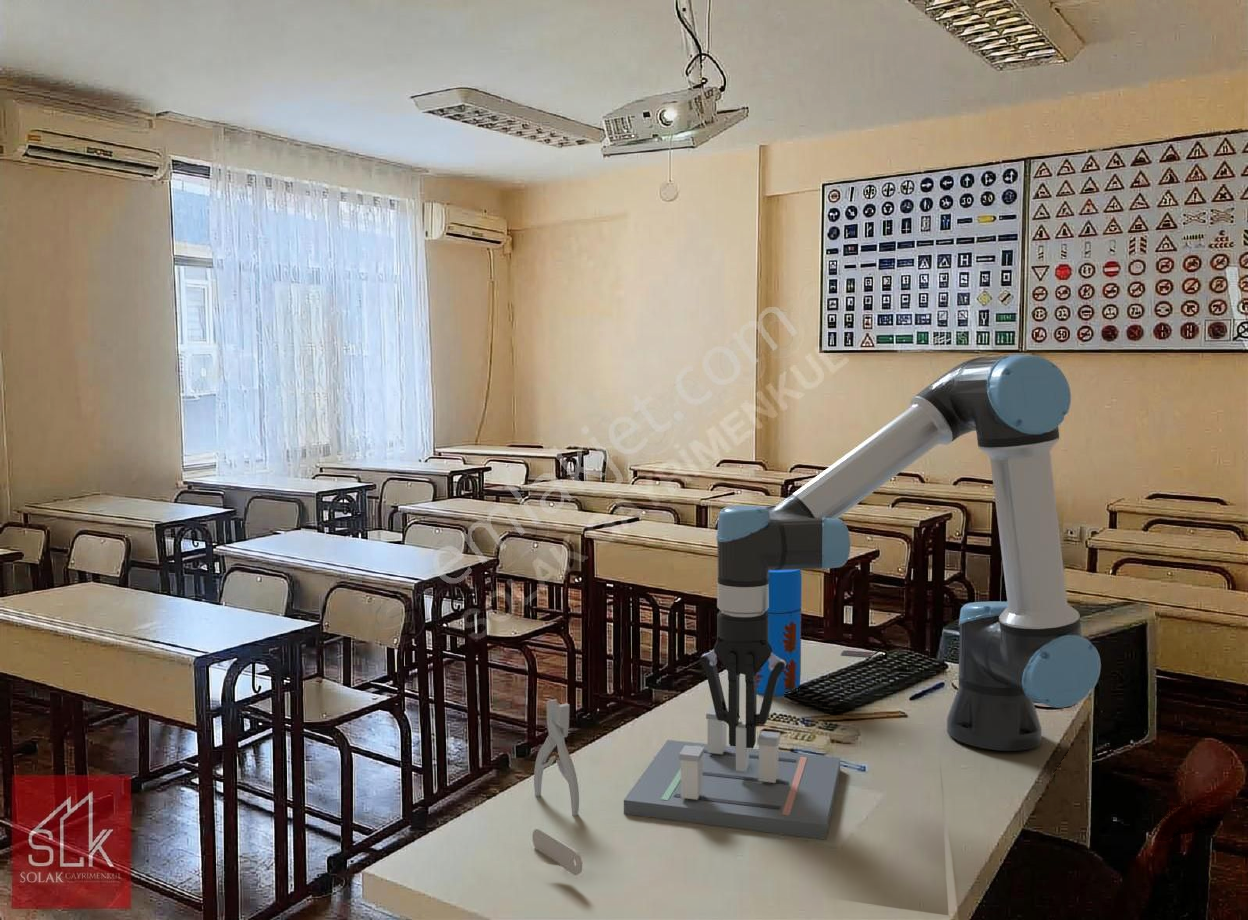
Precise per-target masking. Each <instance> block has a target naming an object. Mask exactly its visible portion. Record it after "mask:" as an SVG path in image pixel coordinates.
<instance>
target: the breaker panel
mask: <svg viewBox="0 0 1248 920" xmlns="http://www.w3.org/2000/svg"><path fill="white" fill-rule="evenodd" d="M685 745H688V746H697V747H704V754H703V764H702V792H701V794H700V796H699V798H698V800H696V799H688V798H681V760H679V754H680V752H681V751H682V749H683V748H684V746H685ZM840 774H841V757H839V756H837V757H836V756H825V755H816V754H806V753H796V752H789V751H779V750H778V777H777V779H776V782H775V783H772V782H763V781H759V748H749V766H748V768H747V770H746V772H744V771H736V747H734V746H730V745H726V749H725V751H724V752H723V754H715V753H708V743H702V742H701V743H700V742H692V741H684V740H683V741H681V740H672V739H667V740H666V742H665V743H664V744H663V746H662V747H661V748H660V749H659V751H658V752H657V753H656V755H655V757H654V758H653V760H651V762H650V763H649V764H648V766H647V768H646V769H645V770H644V771H643V773H642V774H641V776H640V777H639V778H638V779H637V781H636V782H635V784H634V785H633V786H632V788H631V790H630V791H629V792H628V793H627V794H626V796H625V797H624V799H623V814H624V815H631V816H636V817H637V816H639V817H647V818H655V819H661V820H662V819H663V820H669V821H677V822H685V823H686V822H687V823H692V824H700V825H707V826H708V825H710V826H717V827H724V828H733V829H740V830H746V831H747V830H749V831H755V832H763V833H773V834H780V835H786V836H787V835H788V836H795V837H801V838H810V839H811V838H812V839H816V840H817V839H819V840H827V835H828V830H829V825H830V821H831V816H832V811H833V807H834V802H835V797H836V792H837V788H838V783H839V778H840Z"/></svg>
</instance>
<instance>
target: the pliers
mask: <svg viewBox="0 0 1248 920" xmlns="http://www.w3.org/2000/svg"><path fill="white" fill-rule="evenodd" d="M545 705H546V725H547V732H548V735H547V737H546V738H545V741H544V743H543V744H542V745H541V747H540V748H539V750H538V752H537V755H536V760H535V764H534V772H533V787H534V788H533V789H534V797H540V796H541V795H542V785H543V774H544V770H545V768H547V767H550V766H551V765H552V764H553V763H554V761H555V762H556V764H557V767H558V770H559V772H560V773H561V775H562V777H563V778H564V779H565V780H566V782H567V783H568V788H569V794H570V795H569V797H570V804H571V805H570V806H571V816H572V817H576V816H578V815H579V810H580V790H579V784H578V777H577V773H576V768H575V766H574V763H573V760H572V759H573V758H572V757H571V755H570V753H569V751H568V748H567V745H566V742H565V738H568V734H569V728H570V706H571V705H570V704H569V703H568V702H566V703H562V704H558V699H551V700H547V701H546V702H545ZM555 748H557V753H558V757H559V758H558V759H556V755H553V756H550V757H549V755H550V754H551V752H552V751H553V750H554V749H555ZM548 757H549V759H548ZM547 759H548V761H547ZM546 761H547V762H546Z"/></svg>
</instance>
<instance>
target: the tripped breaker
mask: <svg viewBox="0 0 1248 920" xmlns="http://www.w3.org/2000/svg"><path fill="white" fill-rule="evenodd" d="M780 740H781V733H780V732H774V731H765V730H764V731H763V730H761V731H760V732H759V735H758V738H757V739H756V743H757V745H758V749H759V781H763V782H772V783H775V782H776V779H777V777H778V751H779V743H780V742H779V741H780Z"/></svg>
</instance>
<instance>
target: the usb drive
mask: <svg viewBox="0 0 1248 920" xmlns="http://www.w3.org/2000/svg"><path fill="white" fill-rule="evenodd" d="M873 653H877V652H874V651H872V652H871V651H861V650H860V651H859V650H842V652H841V653H840V656H841V657H854V658H864V659H865V658H866V659H868V658H867V657H869V656H871V654H873Z"/></svg>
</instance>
